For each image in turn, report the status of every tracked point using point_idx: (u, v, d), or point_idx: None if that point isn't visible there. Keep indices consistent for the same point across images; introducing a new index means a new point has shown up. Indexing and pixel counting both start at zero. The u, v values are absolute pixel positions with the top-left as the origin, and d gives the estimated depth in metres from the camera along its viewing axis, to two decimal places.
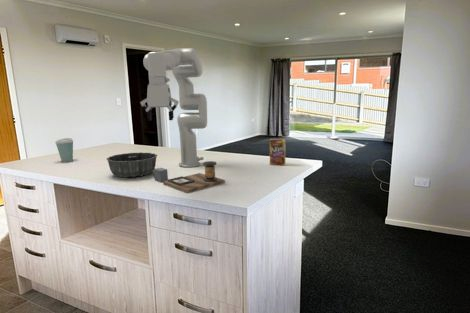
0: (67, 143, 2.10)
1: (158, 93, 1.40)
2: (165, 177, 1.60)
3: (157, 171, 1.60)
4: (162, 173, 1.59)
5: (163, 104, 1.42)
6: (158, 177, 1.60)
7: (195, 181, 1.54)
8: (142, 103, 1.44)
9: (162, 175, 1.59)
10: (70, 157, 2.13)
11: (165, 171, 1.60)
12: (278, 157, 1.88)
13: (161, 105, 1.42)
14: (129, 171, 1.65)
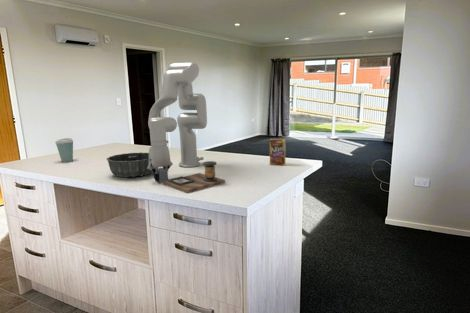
0: (67, 143, 2.10)
1: (163, 154, 1.58)
2: (166, 176, 1.60)
3: None
4: (162, 173, 1.58)
5: (166, 163, 1.61)
6: None
7: (195, 181, 1.54)
8: (150, 168, 1.56)
9: (162, 174, 1.59)
10: (70, 157, 2.13)
11: (165, 171, 1.60)
12: (278, 157, 1.88)
13: (165, 164, 1.60)
14: (129, 171, 1.65)
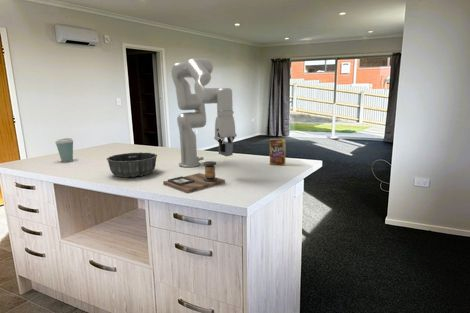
0: (67, 143, 2.10)
1: (229, 124, 1.56)
2: (231, 151, 1.59)
3: None
4: (228, 147, 1.57)
5: (232, 134, 1.59)
6: None
7: (195, 181, 1.54)
8: (217, 138, 1.55)
9: (228, 148, 1.57)
10: (70, 157, 2.13)
11: (231, 145, 1.58)
12: (278, 157, 1.88)
13: (230, 135, 1.58)
14: (129, 171, 1.65)
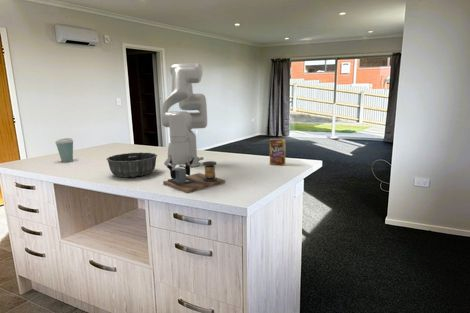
0: (67, 143, 2.10)
1: (183, 151, 1.49)
2: (184, 177, 1.52)
3: (175, 171, 1.52)
4: (180, 173, 1.51)
5: (186, 160, 1.52)
6: (176, 177, 1.52)
7: (195, 181, 1.54)
8: (167, 163, 1.46)
9: (180, 175, 1.51)
10: (70, 157, 2.13)
11: (184, 171, 1.52)
12: (278, 157, 1.88)
13: (185, 161, 1.51)
14: (129, 171, 1.65)
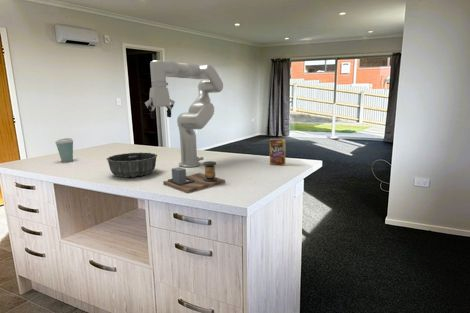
0: (67, 143, 2.10)
1: (163, 95, 1.69)
2: (184, 177, 1.52)
3: (175, 171, 1.52)
4: (180, 173, 1.51)
5: (166, 104, 1.71)
6: (176, 177, 1.52)
7: (195, 181, 1.54)
8: (147, 103, 1.65)
9: (180, 175, 1.51)
10: (70, 157, 2.13)
11: (184, 171, 1.52)
12: (278, 157, 1.88)
13: (165, 105, 1.71)
14: (129, 171, 1.65)
